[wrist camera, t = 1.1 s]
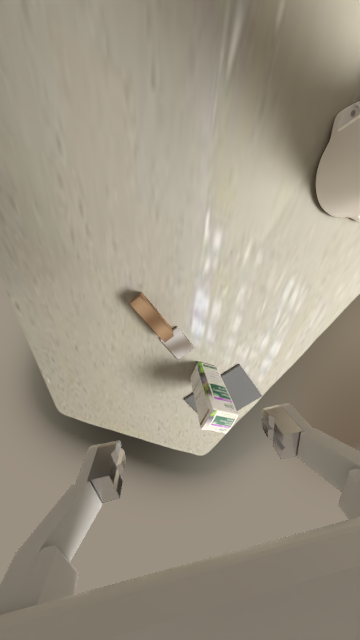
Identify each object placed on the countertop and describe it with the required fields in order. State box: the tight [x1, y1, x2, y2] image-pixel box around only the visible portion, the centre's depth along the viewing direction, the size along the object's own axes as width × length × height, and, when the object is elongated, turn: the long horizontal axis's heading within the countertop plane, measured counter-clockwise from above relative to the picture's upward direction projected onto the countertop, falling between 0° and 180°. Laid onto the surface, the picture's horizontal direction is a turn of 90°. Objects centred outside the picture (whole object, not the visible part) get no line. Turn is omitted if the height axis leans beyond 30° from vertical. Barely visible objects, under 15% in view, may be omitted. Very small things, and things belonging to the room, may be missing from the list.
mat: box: [184, 364, 262, 412], centre depth 49 cm, size 18×14×1 cm
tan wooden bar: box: [130, 293, 194, 359], centre depth 38 cm, size 18×5×4 cm, turn 36°
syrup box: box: [190, 362, 238, 434], centre depth 38 cm, size 6×6×14 cm
